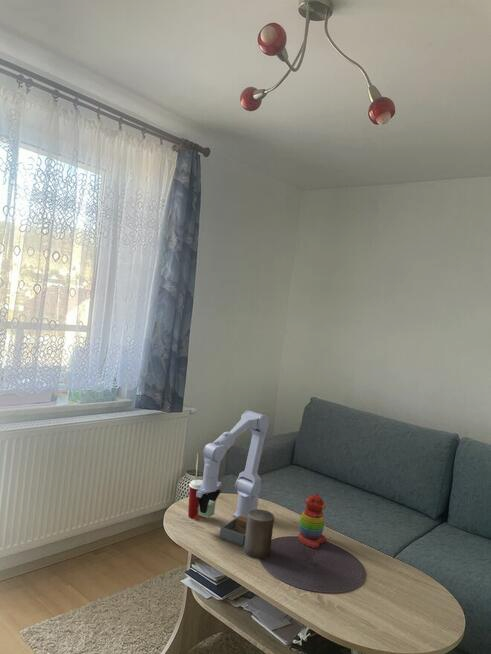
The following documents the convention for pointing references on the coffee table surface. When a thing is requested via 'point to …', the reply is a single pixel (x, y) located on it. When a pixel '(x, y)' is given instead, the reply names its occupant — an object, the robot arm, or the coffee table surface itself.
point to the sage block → (208, 509)
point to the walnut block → (241, 524)
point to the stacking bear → (312, 522)
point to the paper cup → (194, 499)
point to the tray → (232, 533)
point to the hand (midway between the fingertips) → (206, 510)
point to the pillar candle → (258, 533)
